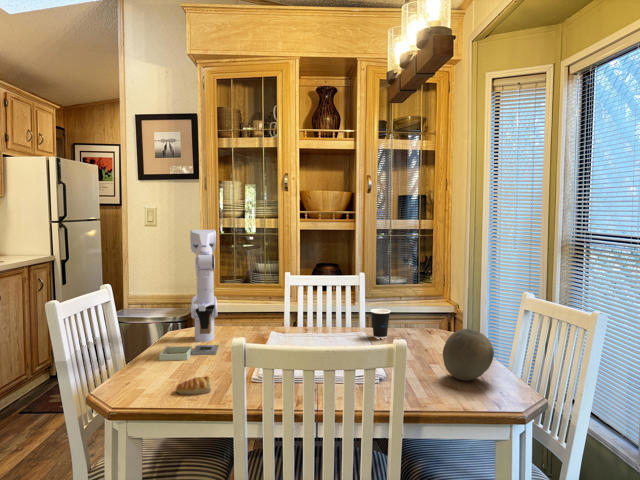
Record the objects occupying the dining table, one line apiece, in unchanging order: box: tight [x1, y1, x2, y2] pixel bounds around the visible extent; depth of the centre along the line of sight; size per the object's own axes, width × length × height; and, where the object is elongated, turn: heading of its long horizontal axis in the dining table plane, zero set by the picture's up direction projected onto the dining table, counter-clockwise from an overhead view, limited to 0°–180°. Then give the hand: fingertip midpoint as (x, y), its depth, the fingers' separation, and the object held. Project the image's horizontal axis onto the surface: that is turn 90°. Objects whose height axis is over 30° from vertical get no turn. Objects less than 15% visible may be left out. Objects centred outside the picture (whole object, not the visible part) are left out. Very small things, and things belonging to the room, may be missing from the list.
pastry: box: [175, 375, 212, 396], centre depth 129 cm, size 9×7×4 cm
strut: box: [200, 315, 211, 334], centre depth 162 cm, size 3×3×7 cm
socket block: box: [191, 344, 220, 356], centre depth 163 cm, size 8×8×2 cm
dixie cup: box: [370, 308, 391, 339], centre depth 185 cm, size 8×8×11 cm
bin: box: [158, 345, 193, 362], centre depth 157 cm, size 9×9×3 cm
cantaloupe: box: [442, 328, 495, 382], centre depth 139 cm, size 14×14×15 cm
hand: (205, 327), depth 163 cm, fingers closed on strut, 3 cm apart
